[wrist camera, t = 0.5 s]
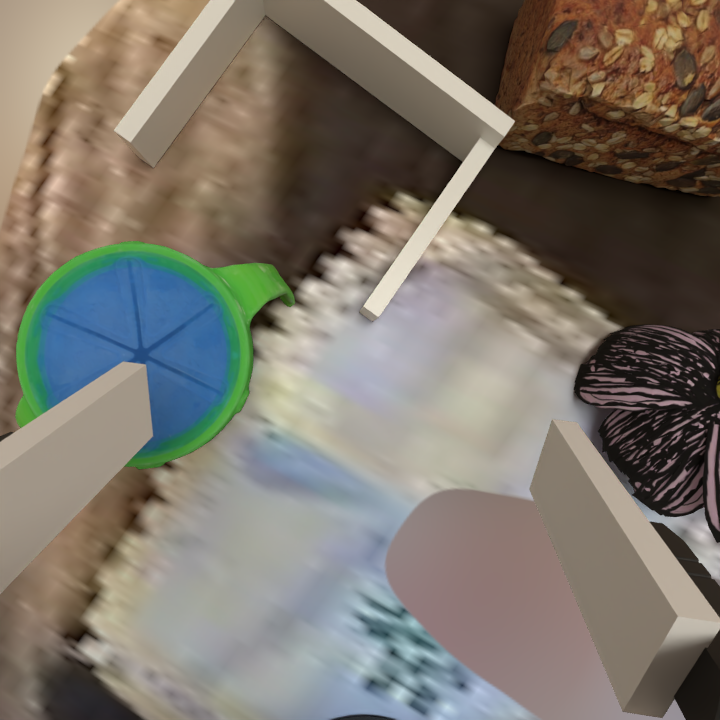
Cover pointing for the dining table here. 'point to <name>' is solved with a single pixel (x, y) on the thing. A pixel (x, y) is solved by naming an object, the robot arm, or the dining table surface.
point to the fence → (353, 58)
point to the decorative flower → (661, 415)
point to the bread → (618, 89)
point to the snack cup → (147, 338)
